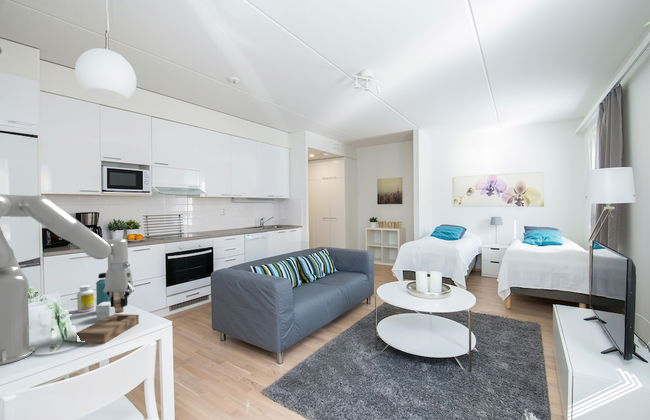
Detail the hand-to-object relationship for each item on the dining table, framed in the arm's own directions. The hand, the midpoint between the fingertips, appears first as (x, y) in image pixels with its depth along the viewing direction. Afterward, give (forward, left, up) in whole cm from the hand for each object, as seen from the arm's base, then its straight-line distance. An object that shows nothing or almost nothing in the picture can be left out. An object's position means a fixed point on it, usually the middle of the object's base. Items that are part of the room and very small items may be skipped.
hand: (119, 305), depth 136 cm
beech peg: (0, 0, -3) cm, 3 cm away
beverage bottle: (+17, +22, -10) cm, 30 cm away
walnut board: (-6, 0, -10) cm, 11 cm away
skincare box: (+9, +14, -10) cm, 20 cm away
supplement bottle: (+18, +33, -10) cm, 39 cm away
